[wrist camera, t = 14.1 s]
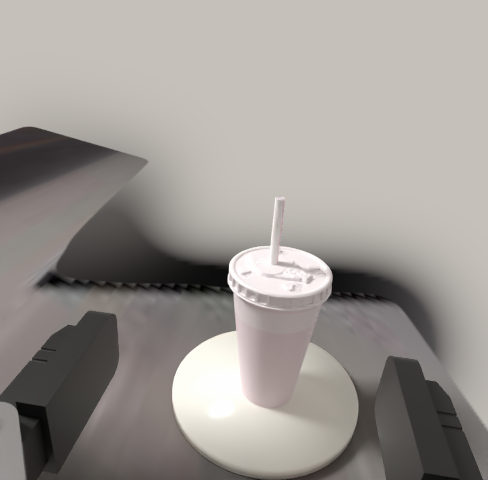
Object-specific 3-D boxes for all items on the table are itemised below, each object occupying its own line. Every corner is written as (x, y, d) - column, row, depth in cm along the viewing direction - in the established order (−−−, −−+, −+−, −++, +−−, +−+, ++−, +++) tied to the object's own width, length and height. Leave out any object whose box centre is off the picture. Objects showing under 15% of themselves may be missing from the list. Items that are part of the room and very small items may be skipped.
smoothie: (256, 345, 34) (272, 177, 28) (328, 383, 30) (364, 201, 24) (202, 391, 29) (207, 200, 23) (281, 442, 26) (311, 234, 20)
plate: (136, 439, 26) (135, 430, 26) (213, 322, 37) (213, 315, 37) (347, 512, 23) (350, 502, 22) (362, 360, 34) (363, 352, 34)
